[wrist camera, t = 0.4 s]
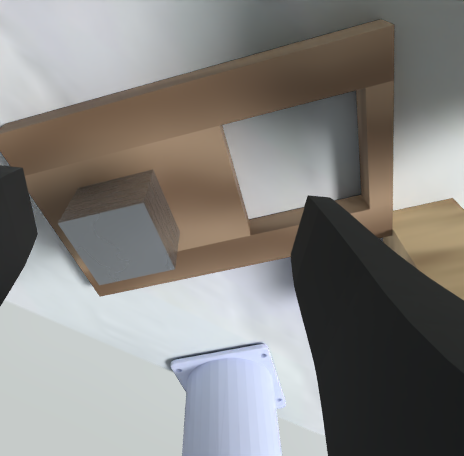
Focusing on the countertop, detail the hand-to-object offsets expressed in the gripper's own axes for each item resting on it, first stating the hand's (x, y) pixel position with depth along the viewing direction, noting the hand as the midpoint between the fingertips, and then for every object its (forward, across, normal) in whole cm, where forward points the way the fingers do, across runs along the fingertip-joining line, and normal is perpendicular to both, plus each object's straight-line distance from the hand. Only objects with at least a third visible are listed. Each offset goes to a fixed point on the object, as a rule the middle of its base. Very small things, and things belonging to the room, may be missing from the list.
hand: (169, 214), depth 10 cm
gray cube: (+10, +3, +6) cm, 12 cm away
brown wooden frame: (+10, -2, +4) cm, 11 cm away
